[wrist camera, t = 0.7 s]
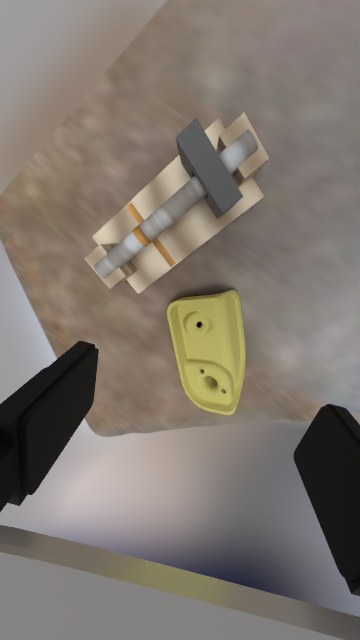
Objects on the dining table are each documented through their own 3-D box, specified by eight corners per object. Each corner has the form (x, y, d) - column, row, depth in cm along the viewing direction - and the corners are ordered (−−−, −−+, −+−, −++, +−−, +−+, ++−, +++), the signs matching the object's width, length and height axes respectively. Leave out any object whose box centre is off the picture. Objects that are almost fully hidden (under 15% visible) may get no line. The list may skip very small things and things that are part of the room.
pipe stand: (221, 120, 28) (228, 76, 21) (264, 196, 31) (285, 182, 23) (94, 239, 35) (64, 239, 27) (138, 293, 38) (122, 307, 30)
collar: (197, 150, 27) (196, 117, 20) (232, 207, 29) (243, 196, 22) (181, 164, 28) (175, 137, 20) (217, 219, 30) (222, 212, 22)
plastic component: (164, 302, 35) (222, 297, 30) (186, 292, 41) (238, 286, 36) (186, 405, 40) (239, 418, 35) (203, 383, 46) (251, 391, 41)
